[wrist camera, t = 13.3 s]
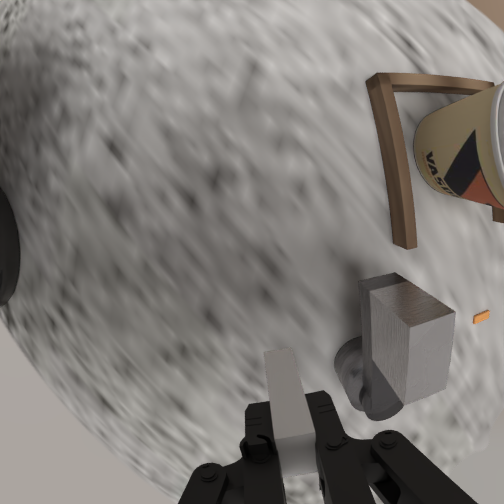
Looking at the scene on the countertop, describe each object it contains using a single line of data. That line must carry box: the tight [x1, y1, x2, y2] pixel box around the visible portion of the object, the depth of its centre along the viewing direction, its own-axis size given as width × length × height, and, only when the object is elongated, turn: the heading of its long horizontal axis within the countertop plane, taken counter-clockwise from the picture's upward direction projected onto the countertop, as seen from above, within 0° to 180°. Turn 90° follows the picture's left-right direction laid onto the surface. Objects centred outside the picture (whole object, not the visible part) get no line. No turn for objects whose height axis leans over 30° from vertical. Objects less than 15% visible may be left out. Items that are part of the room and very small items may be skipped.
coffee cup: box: [414, 81, 504, 209], centre depth 17 cm, size 9×9×12 cm
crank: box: [358, 272, 456, 421], centre depth 17 cm, size 12×4×7 cm, turn 11°
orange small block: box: [473, 310, 490, 324], centre depth 27 cm, size 2×1×1 cm, turn 101°
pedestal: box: [334, 336, 365, 412], centre depth 25 cm, size 5×5×5 cm
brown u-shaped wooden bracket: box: [366, 73, 504, 250], centre depth 22 cm, size 14×14×2 cm
